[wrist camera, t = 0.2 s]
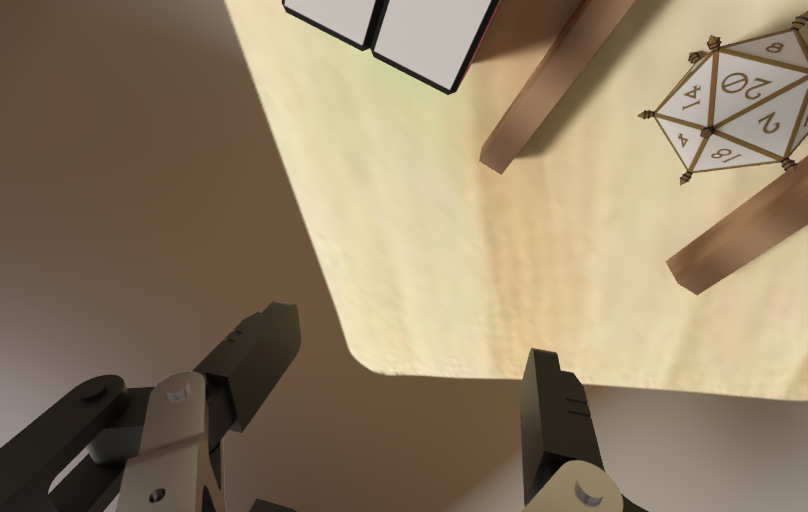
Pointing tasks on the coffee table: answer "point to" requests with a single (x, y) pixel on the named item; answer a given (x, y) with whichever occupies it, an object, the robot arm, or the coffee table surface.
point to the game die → (740, 104)
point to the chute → (719, 246)
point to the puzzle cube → (407, 32)
